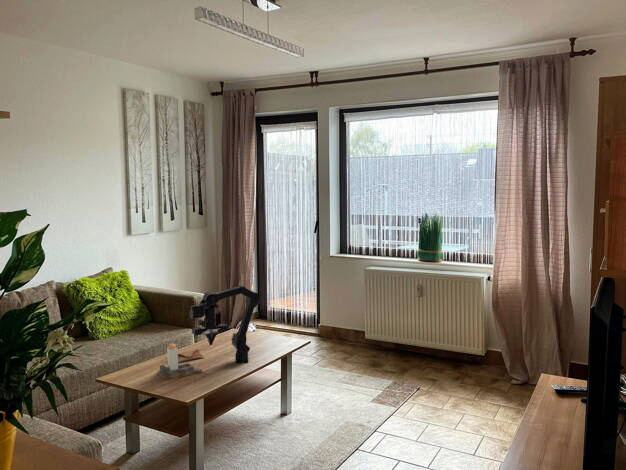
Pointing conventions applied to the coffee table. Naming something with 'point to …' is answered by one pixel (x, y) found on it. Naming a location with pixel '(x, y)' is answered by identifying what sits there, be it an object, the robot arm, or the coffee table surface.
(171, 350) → the white tall boxy piece
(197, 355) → the sunglasses case
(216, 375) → the coffee table surface
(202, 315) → the robot arm
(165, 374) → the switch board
